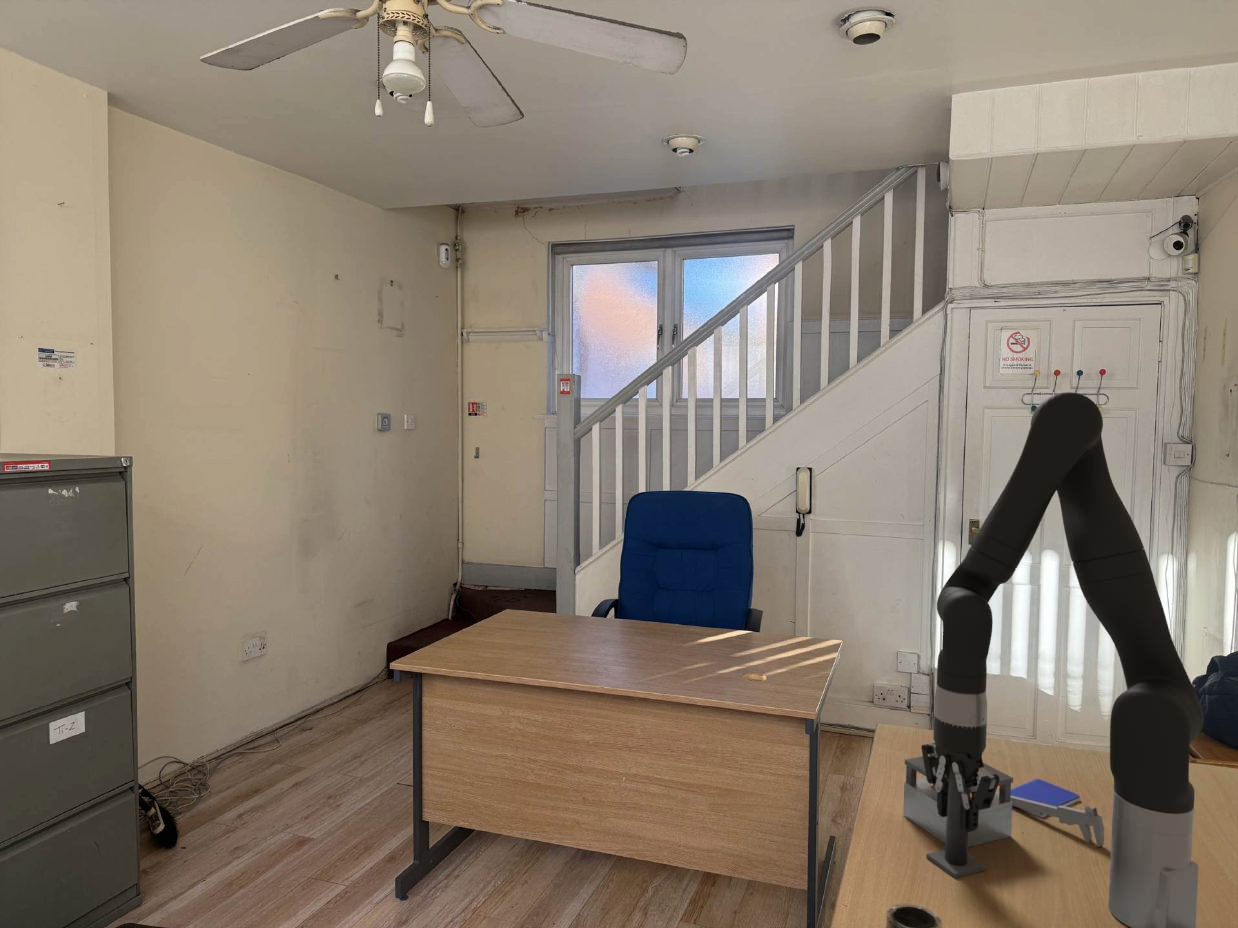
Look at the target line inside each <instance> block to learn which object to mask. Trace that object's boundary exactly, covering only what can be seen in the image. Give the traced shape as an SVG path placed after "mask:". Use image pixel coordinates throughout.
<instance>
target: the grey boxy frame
mask: <svg viewBox="0 0 1238 928" xmlns="http://www.w3.org/2000/svg"><path fill="white" fill-rule="evenodd" d="M983 763H984V769H985V770H987V771H988V772H989V773H990V774H991V775H992V774H997V775H998V776H999V779H1000V781H999V784H998V787H999V789H998V790H999V791H998V792H999V794H998V793H995V796H994V799H993V802H992V805H991V807H990V808H987V809H983V810H979V815H978V827H977V829H976V830H975V831H971V832H969V833H968V848H970V847H975V846H977V845H982V844H985V843H989V842H993V841H997V840H1001V839H1006V838H1009V837H1010V838H1011V837H1012V815H1013V813H1012V812H1013V806H1012V801H1011V800H1010V797H1011V789H1012V784H1013V783H1014V777H1012V776H1010V775H1008V774H1007V773H1004V772H1002V771H1000V770H998V769H996V768H994V767H993V766H991V765H989V764H987V763H985V762H983ZM904 765H905V766H906V772H905V781H904V782H903V784H904V785H903V813H902V815H903V816H904V817H905V818H906V819H908V820H910V821H911V822H912V823H914V824H916V826H919V827H920V828H921V829H923V830H925V831H926V832H928V833H929V834H931V836H934V837H935V838H936V839H938V841H939V840H940V841H941V842H943V843H944V844H945V843H946V823H947V817H941V816H940V815H939V814H938V809H937V791H936V790H934V789H933V788H932V785H933V784H930V783H928V781H927V777H926V771H925V766H924V760H923V755H922V756H918V757H912V758H911V757H910V758H906V759H904ZM917 773H919V774H921V775H923V776H924V777H923V778H917V775H918V774H917ZM935 774H936V773H935V767H933V775H935Z"/></svg>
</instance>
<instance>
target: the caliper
mask: <svg viewBox="0 0 1238 928" xmlns="http://www.w3.org/2000/svg"><path fill="white" fill-rule="evenodd" d="M996 793H998V794H999V791H996ZM1010 800H1011V801H1012V807H1016V808H1018V807H1019V808H1018V809H1020V808H1023V809H1027V810H1031V811H1035V812H1038V813H1042V814H1046V815H1047V816H1051V817H1055V818H1058V822H1059V823H1060V824H1065V825H1067V826H1074V825H1077V826H1078V827H1079V829H1080V832H1081V834H1082V836H1083V838H1084V841H1085V842H1086V843H1087V844H1091V843H1093V839H1092V838H1093V837H1092V836H1093V835H1092V830H1091V827H1092V828H1093V833H1094V837H1095V843H1096V847H1097V848H1100V847H1101V846H1104V842H1105V826H1104V822H1103V818H1102V815H1100V814H1098V809H1097V807H1094V808H1091V807H1090V806H1089V805H1087V806H1085V807H1084V809H1085V810H1082V809H1078V808H1073V807H1070V806H1066V807H1065V806H1061V805H1060V806H1058V807H1055V806H1051V805H1047V804H1043V803H1039V802H1035V801H1031V800H1027V799H1023V798H1019V797H1015V796H1011V797H1010ZM1023 809H1022V810H1023Z"/></svg>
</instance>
